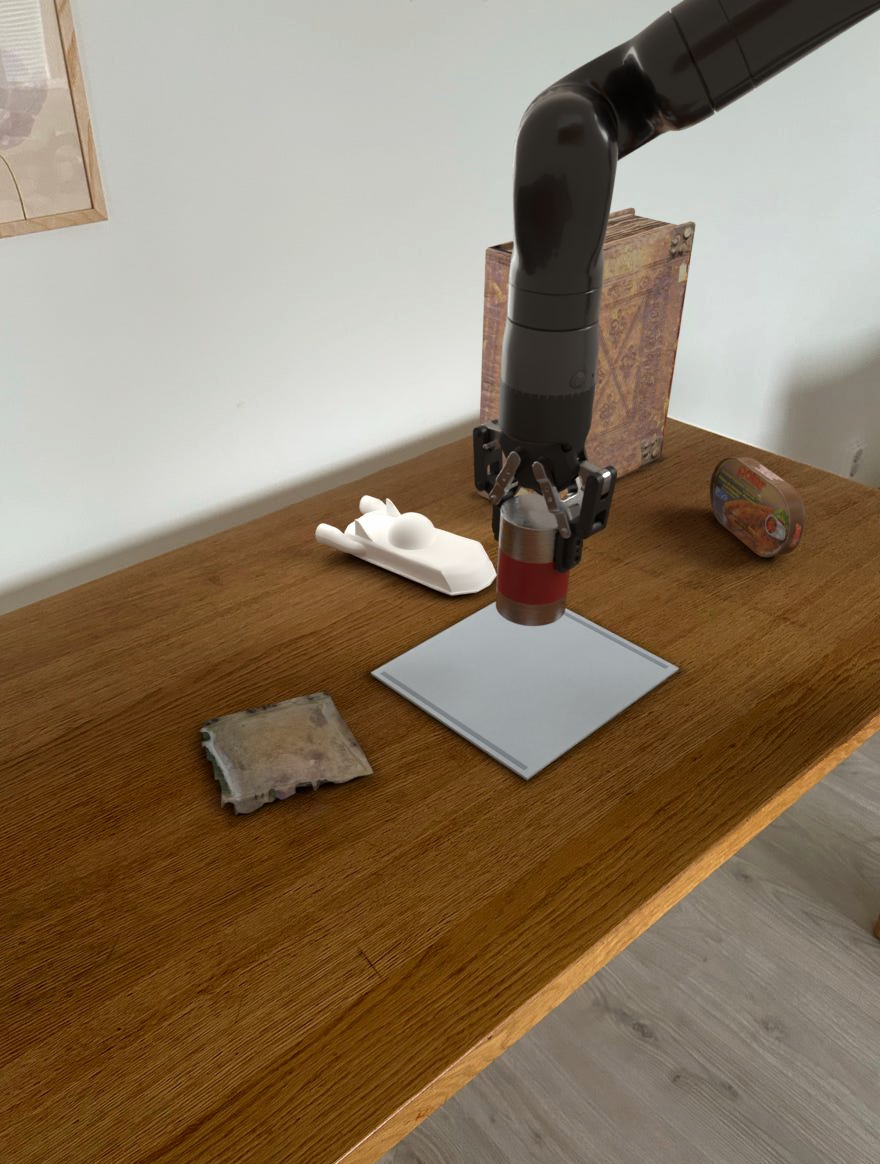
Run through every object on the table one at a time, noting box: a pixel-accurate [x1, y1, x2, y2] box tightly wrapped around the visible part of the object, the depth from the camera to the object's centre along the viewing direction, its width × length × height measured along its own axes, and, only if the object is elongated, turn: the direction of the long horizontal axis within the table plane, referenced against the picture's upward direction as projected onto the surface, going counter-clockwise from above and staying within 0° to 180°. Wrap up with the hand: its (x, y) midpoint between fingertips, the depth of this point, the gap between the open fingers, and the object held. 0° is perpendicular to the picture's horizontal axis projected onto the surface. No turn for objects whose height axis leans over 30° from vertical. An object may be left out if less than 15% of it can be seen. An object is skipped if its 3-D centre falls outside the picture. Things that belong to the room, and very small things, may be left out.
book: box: [476, 207, 696, 501], centre depth 122 cm, size 25×9×30 cm, turn 131°
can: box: [495, 493, 573, 626], centre depth 90 cm, size 6×6×10 cm
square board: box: [370, 601, 680, 781], centre depth 98 cm, size 20×22×1 cm
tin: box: [709, 456, 807, 558], centre depth 115 cm, size 15×3×8 cm, turn 17°
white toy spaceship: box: [314, 494, 497, 596], centre depth 112 cm, size 10×20×6 cm, turn 54°
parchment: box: [198, 690, 374, 816], centre depth 89 cm, size 12×13×1 cm
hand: (534, 553), depth 90 cm, fingers closed on can, 6 cm apart
